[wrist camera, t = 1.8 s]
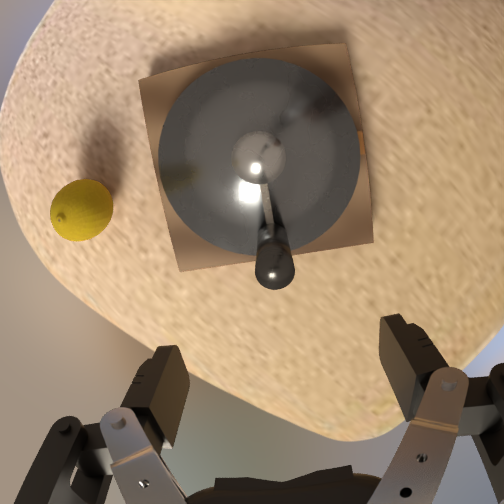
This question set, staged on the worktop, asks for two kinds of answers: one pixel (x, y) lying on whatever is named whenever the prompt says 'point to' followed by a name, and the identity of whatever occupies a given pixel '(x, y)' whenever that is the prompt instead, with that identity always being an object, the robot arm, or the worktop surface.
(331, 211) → the handwheel
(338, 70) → the wheel stand
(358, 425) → the worktop surface
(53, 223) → the lemon
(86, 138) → the worktop surface
